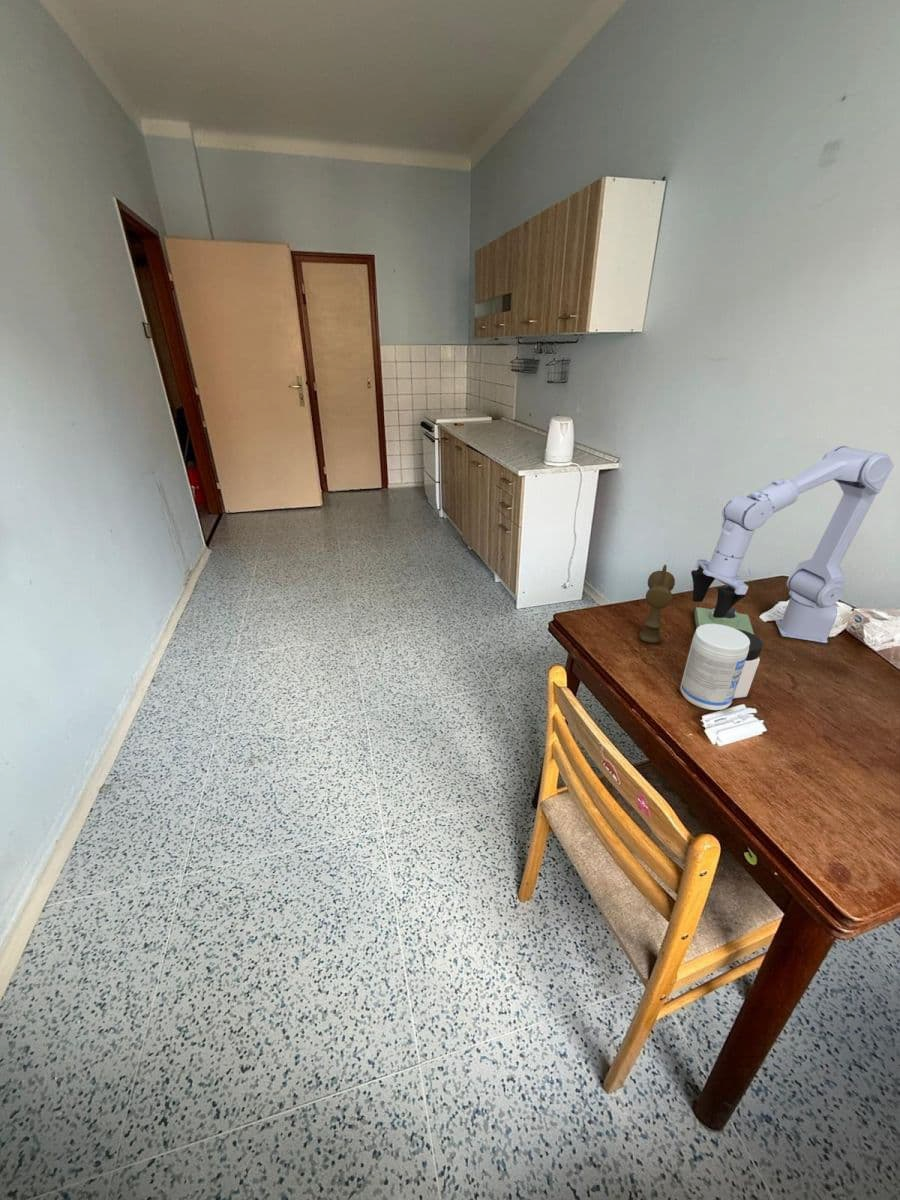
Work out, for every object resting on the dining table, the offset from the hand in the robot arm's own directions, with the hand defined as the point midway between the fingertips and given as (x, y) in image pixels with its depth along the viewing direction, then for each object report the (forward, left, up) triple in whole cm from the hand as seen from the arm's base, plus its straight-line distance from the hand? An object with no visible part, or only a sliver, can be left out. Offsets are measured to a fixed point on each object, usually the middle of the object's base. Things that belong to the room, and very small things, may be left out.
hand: (707, 608), depth 107 cm
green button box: (-6, -12, -10) cm, 17 cm away
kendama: (+11, 0, -11) cm, 15 cm away
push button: (-6, -12, -7) cm, 15 cm away
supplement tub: (0, +19, -10) cm, 22 cm away
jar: (-4, +14, -11) cm, 18 cm away
